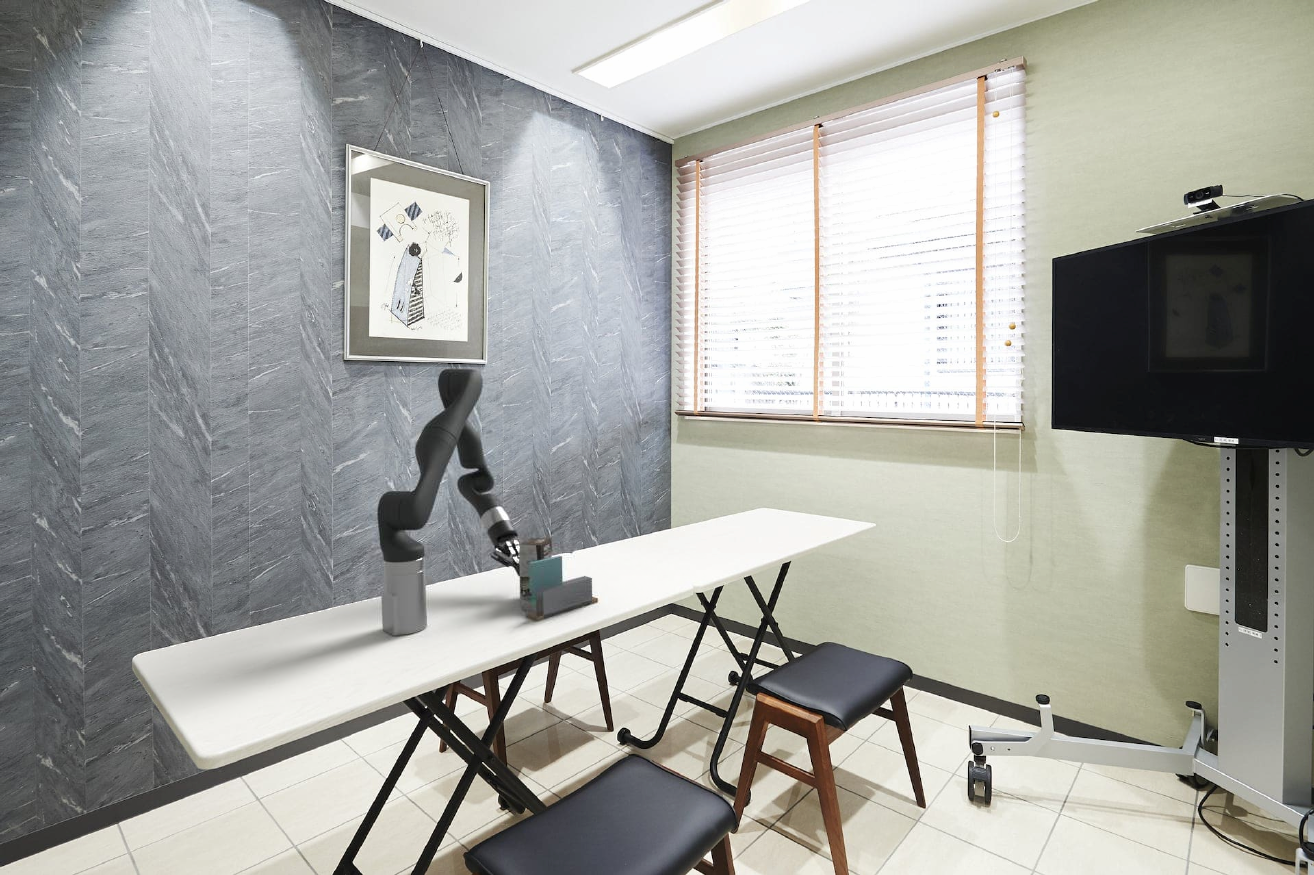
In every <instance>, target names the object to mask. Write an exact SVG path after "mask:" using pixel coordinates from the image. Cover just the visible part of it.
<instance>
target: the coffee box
mask: <svg viewBox="0 0 1314 875" xmlns="http://www.w3.org/2000/svg"><path fill="white" fill-rule="evenodd" d="M552 540H553V538H552V537H530V538H529V539H527V540H525V541H522V542H523V543H521V544H519V564H520V576H519V603H521V604H522V599H525V598H530V596H527V597H524V598H523V597H522V595H523V594H527V593H530V584H529V563H530V562H534V561H538V560H543V559H547V558H551V557H553V552H552V551H553V550H552V549H553V548H552V545H553V544H552V542H553V541H552Z"/></svg>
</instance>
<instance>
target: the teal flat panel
mask: <svg viewBox="0 0 1314 875" xmlns="http://www.w3.org/2000/svg"><path fill="white" fill-rule="evenodd" d="M563 580H564V579H563V555H562V556H561V555H557V556H552V557H551V558H547V559H543V560H538V561H534V562H530V563H529V584H530V593H527V594H523V595H522V597H523V598H524V597H527V596H530V598H531V599H536V589H538V588H542V587H546V586H549V585H553V584H557V583H560V582H564V581H563Z"/></svg>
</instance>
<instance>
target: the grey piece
mask: <svg viewBox="0 0 1314 875" xmlns="http://www.w3.org/2000/svg"><path fill="white" fill-rule="evenodd" d="M595 603H599V598H598V597H595V596H593V577H590V576H586V575H583V576H579V577H576V578H572V579H568V580H565V581H563V582H560V583H557V584H553V585H549V586H546V587H542V588H538V589H536V599H531V598H525V599H522V603H521V611H522V612H525V613H526V618H528V619H531V620H533V621H536V622H539V621H542V620H545V619H548V618H551V617H554V616H558V615H562V614H565V613H567V612H570V611H574V610H576V609H580V608H583V607H586V606H590V605H593V604H595Z"/></svg>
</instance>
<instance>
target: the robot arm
mask: <svg viewBox="0 0 1314 875" xmlns="http://www.w3.org/2000/svg"><path fill="white" fill-rule="evenodd" d="M483 384H484V381H483V376H482V374H481V373H480V371H478V370H476V369H470V368H446V369H443V370H441V372H440V373H439V375H438V378H437V388H438V393H439V396H440V399H441V400H440V401H441V402H442V406H443V408H444V409H443V411H441V412H440V413H438V414H437V415H435V416H434V417H433V418H431V420H429V421H428V422H427V423H426V424H425V426H424V427H423V429H421V430H422V431H421V433H420V435H419V437H418V440H416V441H417V442H416V443H415V446H414V447H415V448H414V454H415V458H416V461H417V465H418V469H419V473H420V474H419V479H418V481H417V484H416V486H415V488H414V489H413V490H412V491H410V490H402V491H401V490H400V491H399V490H391V491H386V492H384V493H383V494H382V495H381V497H380V498H379V501H378V505H377V511H376V512H377V514H376V515H377V526H378V528H377V529H378V537H379V546H380V551H381V552H382V555H383V556H382V558H383V579H384V580H383V582H384V584H383V585H384V590H382V591H381V593H380V595H381V620H382V621H381V622H382V631H384V632H385V633H388V634H389V635H392V636H393V637H395V636H400V635H401V636H402V635H409V634H415V633H418V632H420V631H423V630H425V629H426V628H427V626H428V614H427V590H426V589H427V588H426V587H427V585H426V584H427V583H426V558H425V557H426V556H425V552H426V551H425V546H424V545H423V544H422V543H421V542H420V541H418V540H415V539H414V538H412V537H411V536H410V535H409V534H408V533H407V532H406V531H419V530H422V529H423V528H424V527H425V526H426V525H427V523H428V522H429V519H430V518H431V515H432V511H433V508H434V507H435V506H434V504H435V501H436V499H437V495H438V492H439V489H440V485H441V482H442V480H443V477H444V475H445V472H446V469H447V467H448V465H449V463H450V460H451V458H452V456H453V454H454V453H455V450H456V449H457V450H456V451H457V454H458V460H459V464H460V467H462V468H463V469H465V470H466V469H467V470H472V469H473V470H475V469H476V470H475V471H472V472H469V473H466V474H463V475H461V476H459V478H458V479H457V484H456V485H457V489H458V491H459V493H460V495H462V497H463V498H464V499H466V501H467V502H469V504H470V505H471V506H472V507H473V508H474V509H475V510H476V512H477V514H478V516H479V519H480V520H481V523H482V526H483V528H484V530H485V532H486V534H487V536H488V538H489V539H490V542H491V544H492V545H493V546H494V551H492V553H491V555H490V558H492V559H493V560H495V561H496V562H498V563H500V564H501V565H503V566H505V567H507V568H509V567H512V568H514V570H515V572H516V575H517V576H518V577H520V564H519V544H521V543H523V542H524V541H523V540H522V539H521V538H520V537H519V535H518V531H517V530H516V527H515V526H514V524H513V522H512V520H511V518H510V517H509V515H508V513H507V512H506V510H505V509H504V507H503V506H502V504H501V501H500V499H499V498H498V497H497V495H496V494H493V493H487V492H490V491H492V490H493V488H494V486H495V479H494V476H493V474H492V473H491V471H490V469H489V467H488V463H487V461H486V460H485V455H484V450H483V444H482V440H481V436H480V435H479V433H478V431H477V429H476V428H475V427H474V425H473V424H472V423H471V422H470V421H469V417H470V415H471V414H472V411H473V410H474V409H475V407H476V405H477V403H478V401H479V399H480V397H481V394H482V392H483V387H484V386H483Z"/></svg>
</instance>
